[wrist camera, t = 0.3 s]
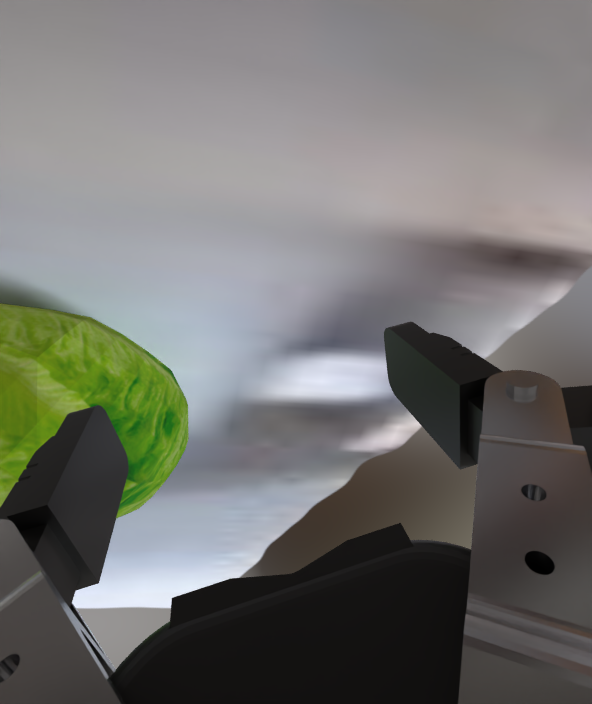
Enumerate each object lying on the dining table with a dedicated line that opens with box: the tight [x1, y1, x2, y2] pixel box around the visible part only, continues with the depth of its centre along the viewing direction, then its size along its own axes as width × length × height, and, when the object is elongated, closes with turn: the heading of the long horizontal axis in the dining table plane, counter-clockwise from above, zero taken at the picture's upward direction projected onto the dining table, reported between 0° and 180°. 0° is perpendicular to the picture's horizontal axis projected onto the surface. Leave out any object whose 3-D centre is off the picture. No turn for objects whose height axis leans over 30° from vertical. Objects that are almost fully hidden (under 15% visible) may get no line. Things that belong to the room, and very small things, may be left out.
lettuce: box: [0, 303, 188, 518], centre depth 27 cm, size 15×22×15 cm
